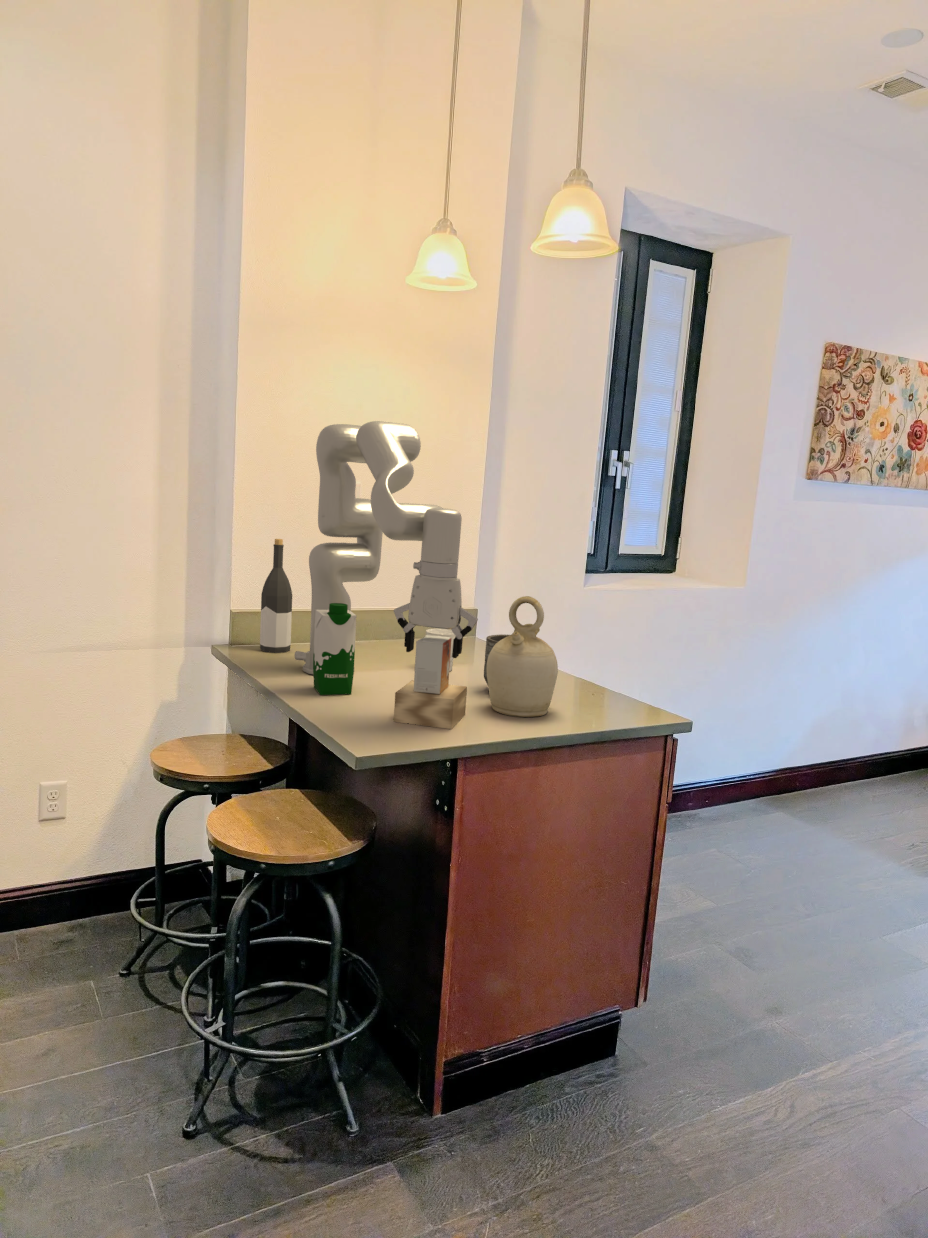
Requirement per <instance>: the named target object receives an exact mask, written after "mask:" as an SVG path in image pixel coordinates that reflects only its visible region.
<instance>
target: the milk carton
mask: <svg viewBox="0 0 928 1238" xmlns="http://www.w3.org/2000/svg"><path fill="white" fill-rule="evenodd" d="M314 627H315V631H314V654H313V674H312V675H313V688H314V689H315V690H316V692H317V693H318V694H319V695H320V696H330V695H331V696H334V695H335V696H336V695H352V692H353V691H352V690H353V681H354V674H355V673H354V672H355V659H356V658H355V652H356V636H357V635H356V634H357V633H356V632H357V631H356V630H357V614H355V613H354V612H353V611H349V610H348V605H347V604H343V603H331V604H329V610H316V613H315V626H314Z"/></svg>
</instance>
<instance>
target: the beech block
mask: <svg viewBox="0 0 928 1238" xmlns="http://www.w3.org/2000/svg"><path fill="white" fill-rule="evenodd" d="M467 693H468V687H467V686H463V685H458V684H457V685H456V684H449V683H448V687H447V688H446V689H445V690H443V691H442V692H441V693H440V694H433V693H423V692H414V679H412V680H411V681H409V682H407V683H406V684H405V685H403V686H402V687H400V688H399V689H398V690H396V691H395V692H394V710H393V722H394V723H400V724H407V723H409V725H415V724H416V725H417V726H424V727H432V728H439V729H448V730H453V729H454V727H456V726H457V724H458V723H459V722H460V721H461V720H462V719H463V718H464V717H465V716H466V708H467V707H466V706H467ZM416 725H415V726H416Z"/></svg>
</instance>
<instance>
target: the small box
mask: <svg viewBox="0 0 928 1238" xmlns="http://www.w3.org/2000/svg"><path fill="white" fill-rule="evenodd" d="M415 644H416V645H415V659H414V661H415V662H414V674H413V675H414V676H413V677H414V678H413V680H414V692H423V693H433V694H440V693H441V692H442V691H443V690H445V689H446V688H447V687H448V684H449V680H450V671H449V668H450V653H451V637H441V636H432V635H426V634H425V636H424V637H421V638H420V639H418V640H416V643H415Z"/></svg>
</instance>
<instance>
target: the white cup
mask: <svg viewBox="0 0 928 1238" xmlns="http://www.w3.org/2000/svg"><path fill="white" fill-rule="evenodd" d="M426 635H432V636H441V637H451V653H450V668H449V672H451V671H452V670H453V665H454V662H453V661H454V659H455V658H453V657H452V652H453V640H454V639H455V634H454V633H453V632H452V630H451V629H440V628H429V629H426V630H425V636H426Z"/></svg>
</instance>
